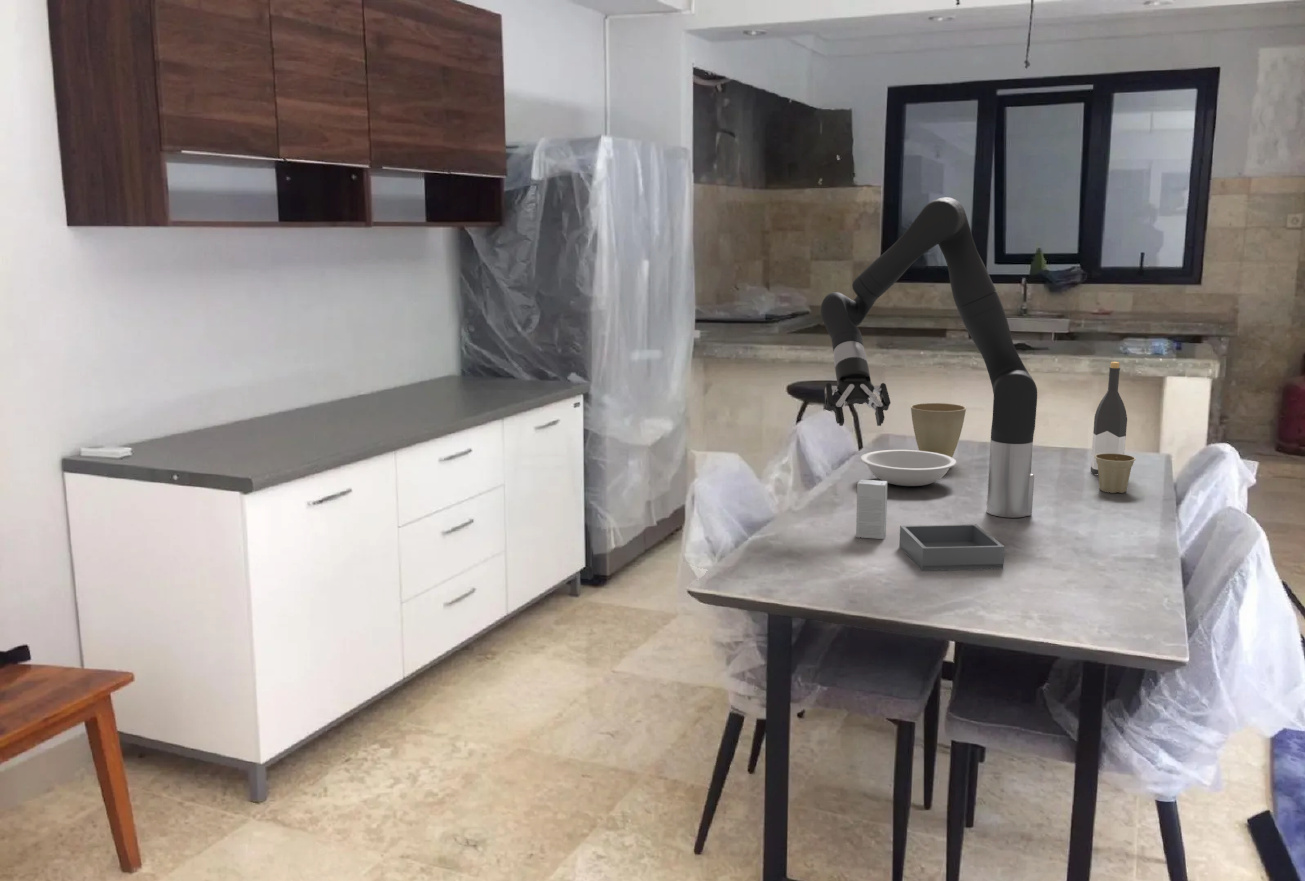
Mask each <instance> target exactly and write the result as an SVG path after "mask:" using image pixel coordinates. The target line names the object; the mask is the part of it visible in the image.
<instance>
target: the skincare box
mask: <svg viewBox="0 0 1305 881" xmlns="http://www.w3.org/2000/svg"><path fill="white" fill-rule="evenodd" d="M856 485H857V486H856V520H855V524H856V526H855V529H856V530H855V531H856V532H855V536H856V538H860V537H861V539H862V538H863V539H874V540H875V539H877V540H884V539H885V537H886V535H887V515H888V514H887V513H888V510H887V509H888V483H887V481H882V480H877V479H876V480H874V479H873V480H872V479H859V481H858V482H857V483H856Z"/></svg>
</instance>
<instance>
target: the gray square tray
mask: <svg viewBox="0 0 1305 881" xmlns="http://www.w3.org/2000/svg"><path fill="white" fill-rule="evenodd" d="M898 545H899V548H900V549H901V550H902V551H903V552H904V554H906V555H907V556H908V558H910V560H911V561H912V562H913V563H914V564H915V565H916V566H917V567H918V568H919V569H920V570H921V572H924V571H925V572H927V571H932V572H933V571H968V570H969V571H970V570H971V571H974V570H978V569H979V570H1004V565H1005V564H1004V563H1005V562H1004V560H1005V545H1003V544H1002V543H1001V542H999V541H998V540H997V539H995V538H994V537H993V536H992V535H990V534H989V533H988V532H987V531H986V530H984V529H983V528H981V527H980V526H979V525H978V524H976V523H970V524H969V523H966V524H963V523H962V524H961V523H959V524H921V525H920V524H917V525H916V524H915V525H912V524H911V525H910V524H909V525H900V526H899V543H898ZM979 570H978V571H979Z"/></svg>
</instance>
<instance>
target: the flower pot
mask: <svg viewBox="0 0 1305 881" xmlns="http://www.w3.org/2000/svg"><path fill="white" fill-rule="evenodd" d="M1095 458H1096V462H1097V464H1098V475H1099V476H1098V475H1097V476H1098V487H1099V490H1101V491H1102V492H1104V493H1109V492H1110V493H1109V494H1116V493H1120V494H1124V493H1126V492H1127V490H1128V484H1129V481H1130V476H1131V472H1132V471H1131V470H1132V467H1133V466H1134V463H1135V461H1136V459H1137V458H1136V457H1135V456H1133V455H1129V454H1125V453H1124V454H1115V453H1103V454H1097V455H1095Z"/></svg>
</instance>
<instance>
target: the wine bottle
mask: <svg viewBox="0 0 1305 881" xmlns="http://www.w3.org/2000/svg"><path fill="white" fill-rule="evenodd" d="M1108 370H1109V372H1108V386H1107V391H1106V393H1105V395H1104V396H1103V397H1102V399H1101V400H1100V402H1099V404H1098V406H1097V408H1096V411H1095V414H1094V421H1093V432H1092V433H1093V434H1092V446H1091V447H1092V448H1091V459H1090V460H1091V461H1090V473H1091V472H1092V473H1093V474H1098V464H1097V462H1096V458H1095V455H1097V454H1103V453H1115V454H1124V455H1125V451H1126V439H1127V438H1126V437H1127V426H1128V415H1127V410H1126V407H1125V403H1124V401H1123V399H1122V397H1121V395H1120V393H1119V384H1120V382H1119V381H1120V371H1121V368H1120V362H1119V361H1111V362H1110V366H1109V369H1108ZM1092 473H1091V474H1092ZM1093 474H1092V475H1093Z"/></svg>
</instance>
